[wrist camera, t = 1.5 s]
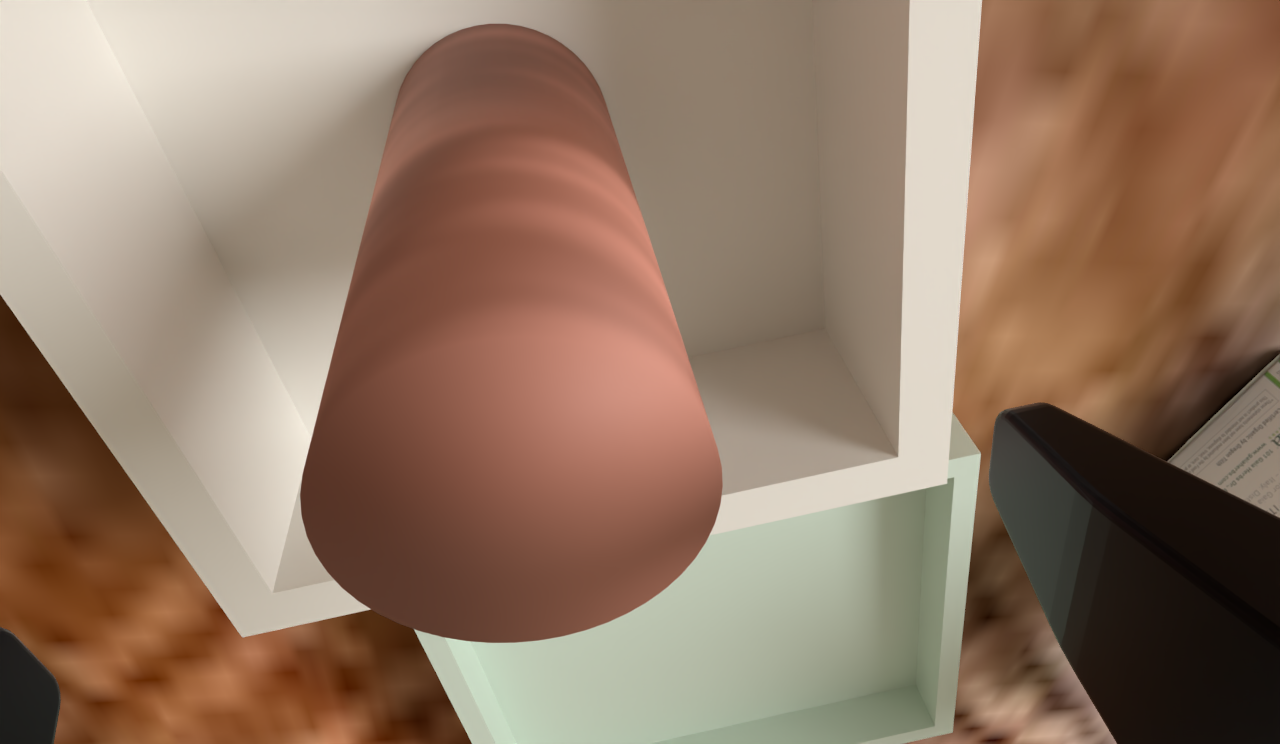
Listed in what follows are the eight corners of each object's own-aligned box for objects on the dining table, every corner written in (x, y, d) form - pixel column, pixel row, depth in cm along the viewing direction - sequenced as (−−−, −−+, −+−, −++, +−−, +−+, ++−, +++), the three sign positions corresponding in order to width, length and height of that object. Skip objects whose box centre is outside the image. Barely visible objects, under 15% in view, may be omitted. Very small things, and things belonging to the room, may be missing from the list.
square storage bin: (852, -430, 13) (1018, -505, 9) (860, 342, 21) (947, 483, 17) (-98, -242, 13) (-373, -233, 9) (289, 465, 21) (242, 637, 17)
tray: (936, 389, 22) (980, 453, 20) (921, 665, 30) (952, 732, 28) (398, 505, 22) (389, 582, 20) (514, 755, 29) (516, 830, 27)
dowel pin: (587, 2, 15) (697, 292, 7) (625, 208, 18) (740, 597, 10) (362, 49, 15) (224, 393, 7) (431, 249, 18) (383, 675, 10)
